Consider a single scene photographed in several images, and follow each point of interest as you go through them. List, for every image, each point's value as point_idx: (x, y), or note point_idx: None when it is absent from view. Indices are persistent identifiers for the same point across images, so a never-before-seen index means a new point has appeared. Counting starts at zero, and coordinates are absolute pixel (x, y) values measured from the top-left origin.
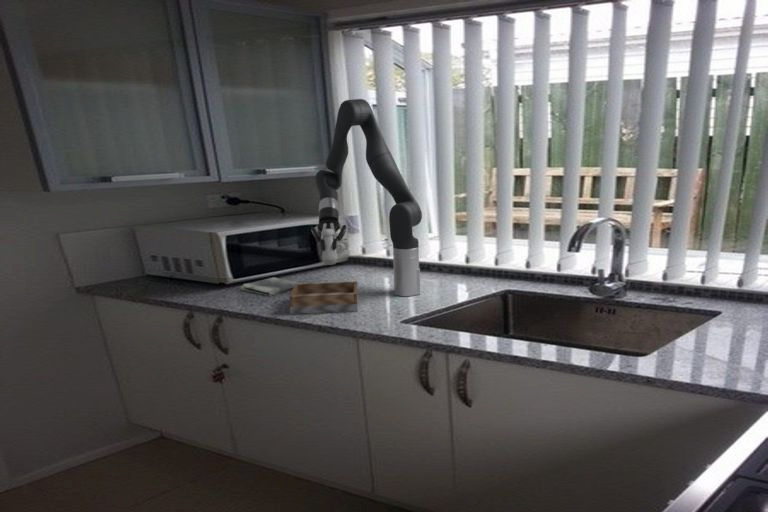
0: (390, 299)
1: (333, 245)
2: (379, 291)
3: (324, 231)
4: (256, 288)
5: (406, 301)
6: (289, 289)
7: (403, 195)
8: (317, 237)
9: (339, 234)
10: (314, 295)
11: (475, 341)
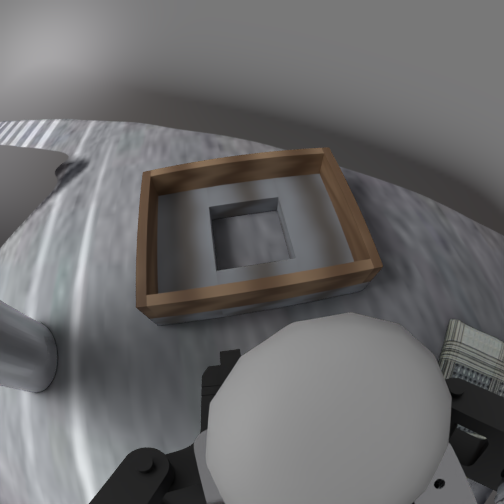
0: (71, 301)
1: (229, 359)
2: (95, 392)
3: (394, 323)
4: (495, 338)
5: (44, 282)
6: None
7: None
8: (452, 386)
9: (141, 486)
10: (262, 153)
11: (41, 133)
